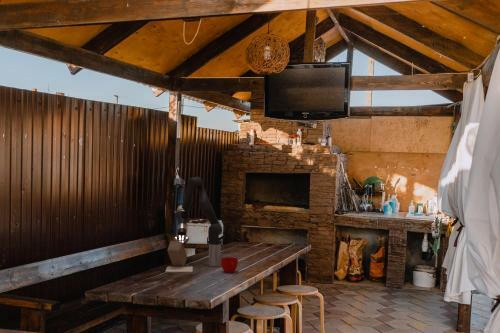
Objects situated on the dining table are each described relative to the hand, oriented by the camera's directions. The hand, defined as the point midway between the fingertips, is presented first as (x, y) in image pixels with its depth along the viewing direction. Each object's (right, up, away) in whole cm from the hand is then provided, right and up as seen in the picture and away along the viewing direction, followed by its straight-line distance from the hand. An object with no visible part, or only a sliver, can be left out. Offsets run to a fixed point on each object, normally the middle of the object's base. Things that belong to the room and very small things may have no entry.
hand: (180, 247), depth 405 cm
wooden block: (-1, -12, +1) cm, 12 cm away
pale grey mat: (+1, -15, -14) cm, 20 cm away
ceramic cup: (+40, -16, -21) cm, 47 cm away
